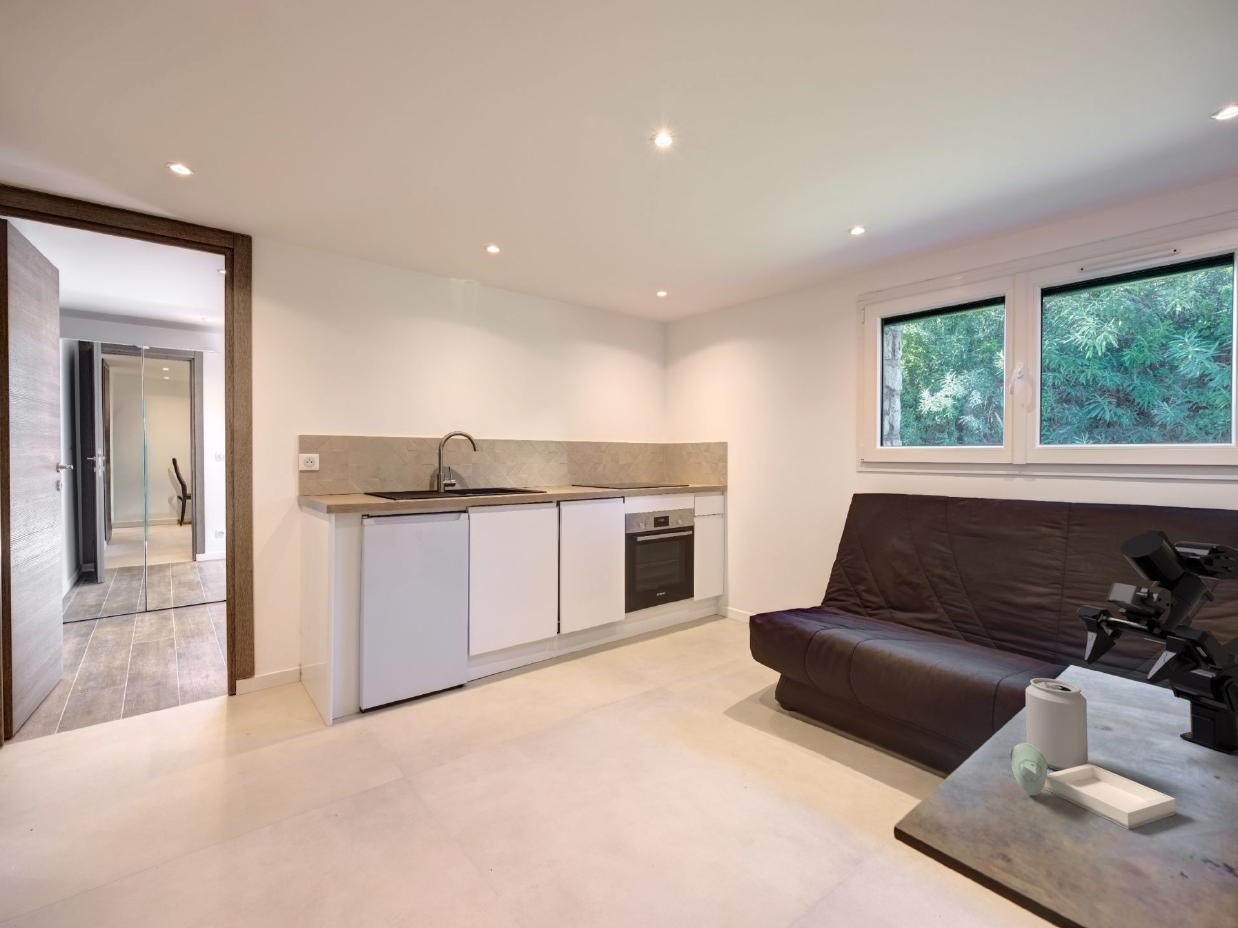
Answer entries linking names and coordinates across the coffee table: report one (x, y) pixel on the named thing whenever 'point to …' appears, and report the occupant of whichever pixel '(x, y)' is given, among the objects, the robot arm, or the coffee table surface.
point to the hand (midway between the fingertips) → (1116, 672)
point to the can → (1057, 722)
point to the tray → (1110, 795)
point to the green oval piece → (1029, 767)
